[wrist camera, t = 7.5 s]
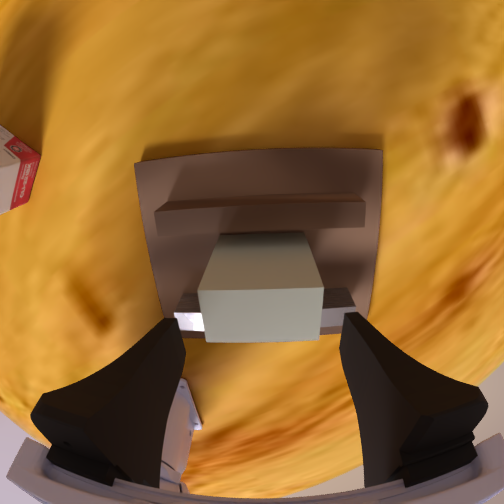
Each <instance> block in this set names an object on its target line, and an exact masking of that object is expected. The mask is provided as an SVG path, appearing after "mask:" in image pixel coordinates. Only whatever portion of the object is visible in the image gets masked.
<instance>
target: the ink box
mask: <svg viewBox="0 0 504 504" xmlns="http://www.w3.org/2000/svg"><path fill="white" fill-rule="evenodd" d="M40 158H41V155H40V154H38V153H37V152H36V151H34V150H33V149H31V148H30V147H29V146H27V145H26V144H25V143H23V142H22V141H21V140H19V139H18V138H17V137H15V136H14V135H13V134H11V133H10V132H9V131H8V130H6V129H5V128H4V127H2V126H1V125H0V215H1V214H3V213H5V212H7V211H9V210H12V209H14V208H16V207H18V206H21V205H23V204H25V203H27V202H28V201H29V196H30V192H31V189H32V185H33V182H34V178H35V175H36V171H37V168H38V164H39V161H40Z"/></svg>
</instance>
